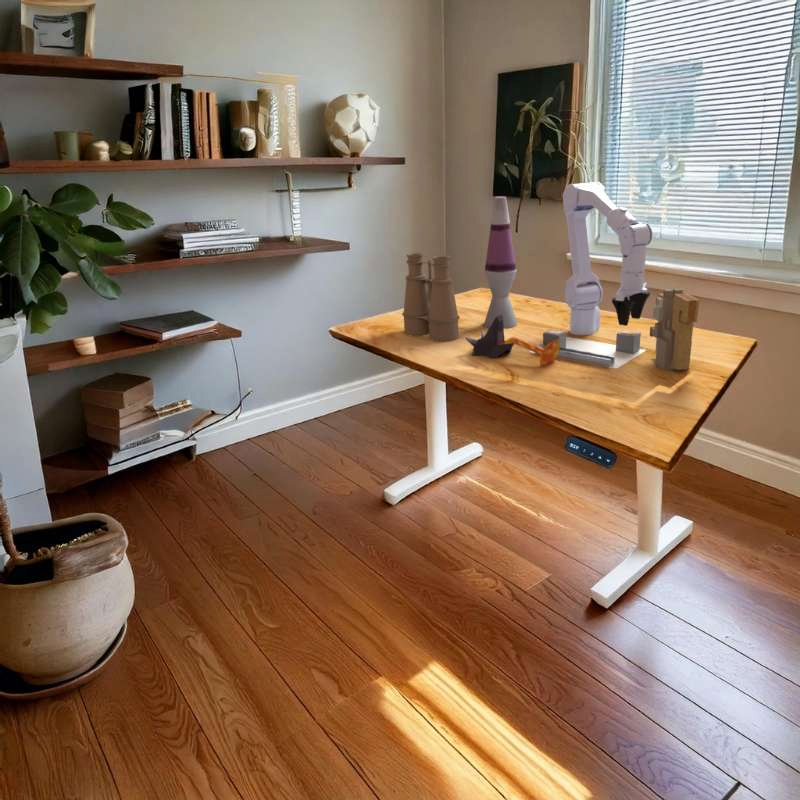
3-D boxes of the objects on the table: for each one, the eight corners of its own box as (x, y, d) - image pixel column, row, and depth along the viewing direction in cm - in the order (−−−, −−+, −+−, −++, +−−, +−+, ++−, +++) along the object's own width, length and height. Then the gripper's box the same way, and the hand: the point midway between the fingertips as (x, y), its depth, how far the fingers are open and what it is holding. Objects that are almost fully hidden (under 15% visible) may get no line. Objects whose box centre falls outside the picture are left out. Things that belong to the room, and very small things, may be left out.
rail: (540, 350, 192) (540, 343, 192) (614, 364, 178) (614, 356, 178) (534, 353, 190) (535, 346, 190) (609, 367, 176) (609, 359, 176)
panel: (561, 339, 204) (561, 335, 204) (646, 354, 188) (646, 350, 187) (528, 356, 192) (528, 351, 192) (616, 373, 176) (616, 368, 175)
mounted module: (550, 346, 195) (550, 328, 193) (565, 349, 192) (566, 331, 190) (542, 350, 192) (543, 332, 190) (558, 353, 189) (559, 335, 187)
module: (622, 347, 191) (623, 329, 189) (639, 350, 188) (640, 331, 186) (615, 351, 188) (616, 332, 186) (633, 354, 185) (634, 335, 183)
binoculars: (466, 336, 213) (464, 255, 204) (445, 344, 207) (442, 261, 198) (417, 326, 227) (414, 250, 218) (396, 333, 221) (392, 255, 211)
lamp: (478, 322, 227) (476, 197, 212) (508, 318, 230) (508, 194, 215) (492, 330, 217) (491, 199, 203) (523, 326, 220) (524, 196, 205)
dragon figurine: (542, 345, 174) (466, 310, 188) (532, 386, 180) (459, 349, 194) (564, 335, 181) (490, 302, 195) (554, 375, 187) (482, 340, 201)
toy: (669, 358, 184) (676, 284, 177) (697, 379, 168) (706, 299, 161) (645, 359, 184) (651, 285, 176) (671, 381, 168) (679, 301, 161)
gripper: (635, 277, 172) (631, 330, 177) (659, 267, 182) (655, 317, 187) (609, 275, 177) (606, 326, 182) (633, 265, 187) (630, 314, 192)
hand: (629, 321), depth 185 cm, fingers open, 7 cm apart
